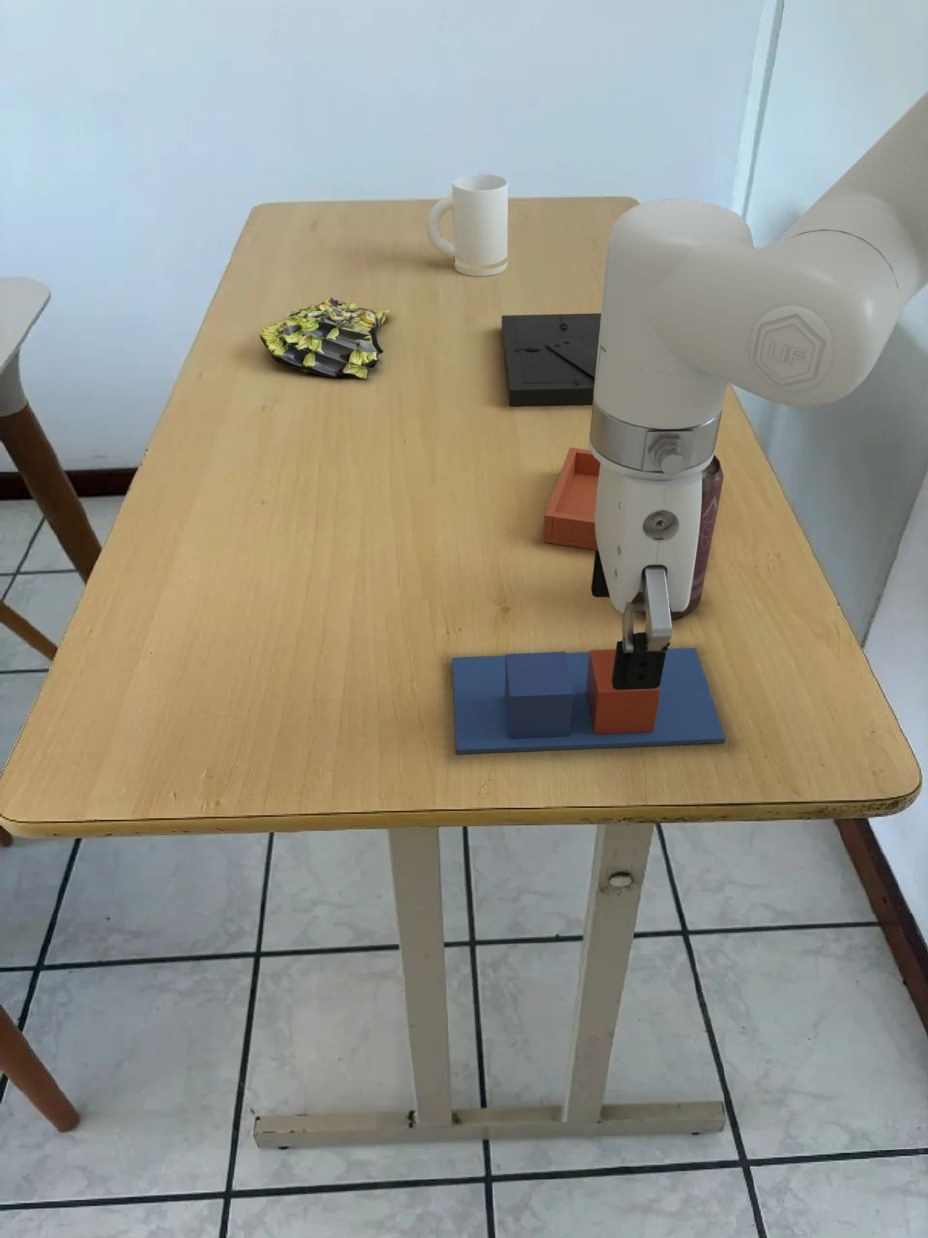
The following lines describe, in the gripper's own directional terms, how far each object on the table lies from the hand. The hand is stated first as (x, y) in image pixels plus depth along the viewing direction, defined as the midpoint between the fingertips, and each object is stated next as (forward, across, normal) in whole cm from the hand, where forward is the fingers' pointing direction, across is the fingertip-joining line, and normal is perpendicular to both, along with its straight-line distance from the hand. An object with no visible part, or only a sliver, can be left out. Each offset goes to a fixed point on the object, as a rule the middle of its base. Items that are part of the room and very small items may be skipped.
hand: (623, 637), depth 68 cm
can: (+8, +14, -7) cm, 17 cm away
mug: (+9, +93, +7) cm, 94 cm away
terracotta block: (+7, 0, 0) cm, 7 cm away
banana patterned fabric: (+9, +68, +25) cm, 73 cm away
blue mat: (+8, +2, +2) cm, 8 cm away
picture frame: (+9, +60, -4) cm, 60 cm away
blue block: (+7, 0, +6) cm, 10 cm away
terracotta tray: (+8, +26, -6) cm, 28 cm away
